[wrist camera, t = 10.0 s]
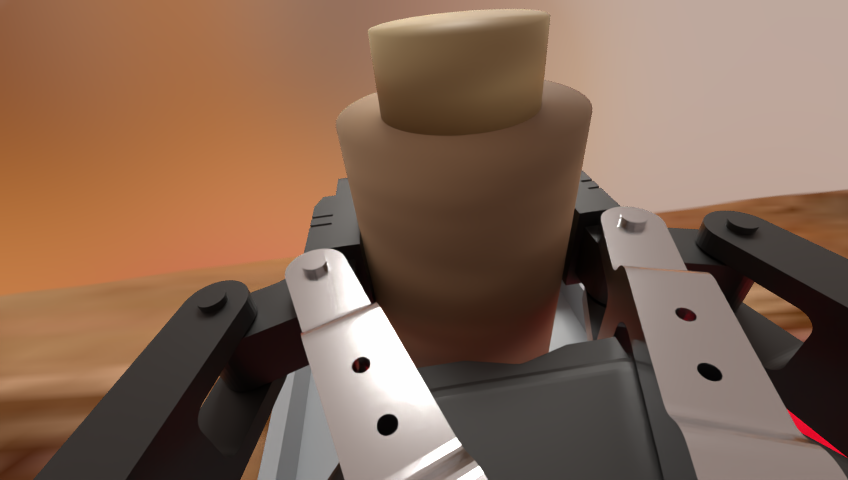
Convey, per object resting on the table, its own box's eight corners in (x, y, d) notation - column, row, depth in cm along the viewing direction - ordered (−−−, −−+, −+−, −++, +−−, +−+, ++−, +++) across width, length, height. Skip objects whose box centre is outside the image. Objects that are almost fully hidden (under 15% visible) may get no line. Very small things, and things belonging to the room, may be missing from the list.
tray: (247, 720, 10) (206, 718, 8) (310, 325, 20) (297, 293, 19) (765, 618, 10) (814, 599, 9) (564, 287, 21) (571, 253, 20)
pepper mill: (406, 480, 12) (293, 65, 5) (396, 349, 16) (329, 21, 9) (561, 453, 12) (686, 19, 5) (512, 331, 16) (540, -2, 9)
